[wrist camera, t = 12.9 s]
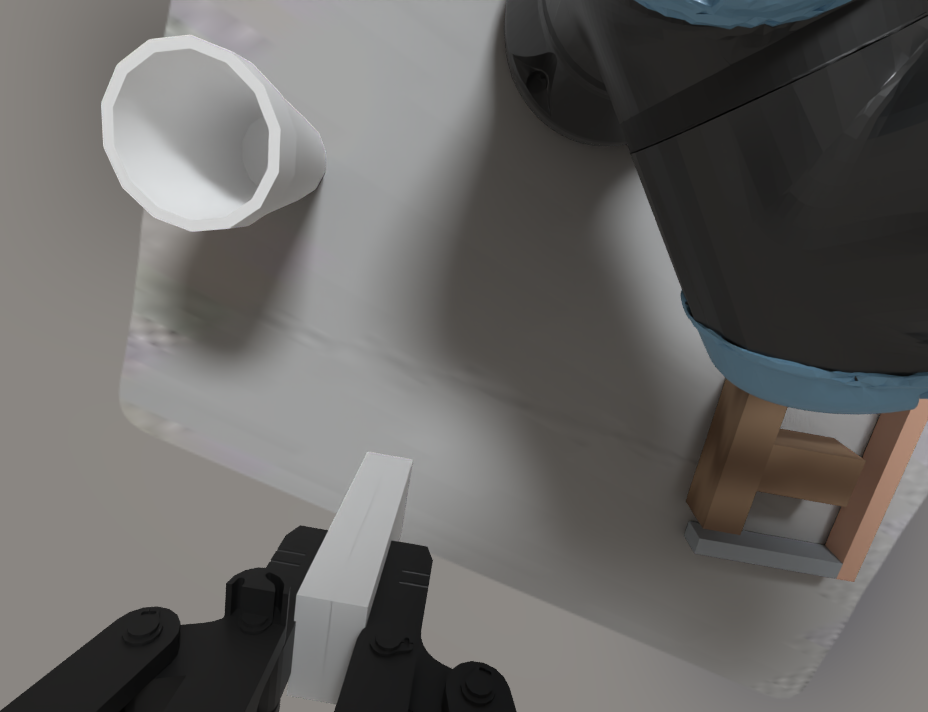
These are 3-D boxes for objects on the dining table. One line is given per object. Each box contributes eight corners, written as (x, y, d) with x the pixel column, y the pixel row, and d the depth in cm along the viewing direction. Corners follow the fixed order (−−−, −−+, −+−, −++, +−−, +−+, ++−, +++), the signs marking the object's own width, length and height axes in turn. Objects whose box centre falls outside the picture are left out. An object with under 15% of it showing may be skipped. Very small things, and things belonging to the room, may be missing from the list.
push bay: (753, 328, 42) (769, 336, 39) (924, 358, 42) (950, 368, 39) (684, 535, 47) (694, 553, 45) (835, 562, 47) (853, 581, 45)
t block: (728, 371, 43) (751, 387, 39) (851, 392, 43) (886, 411, 39) (685, 501, 46) (703, 528, 43) (799, 521, 46) (827, 550, 43)
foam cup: (259, 59, 38) (146, -8, 26) (369, 136, 39) (313, 107, 27) (202, 176, 41) (74, 166, 28) (308, 245, 42) (229, 265, 29)
